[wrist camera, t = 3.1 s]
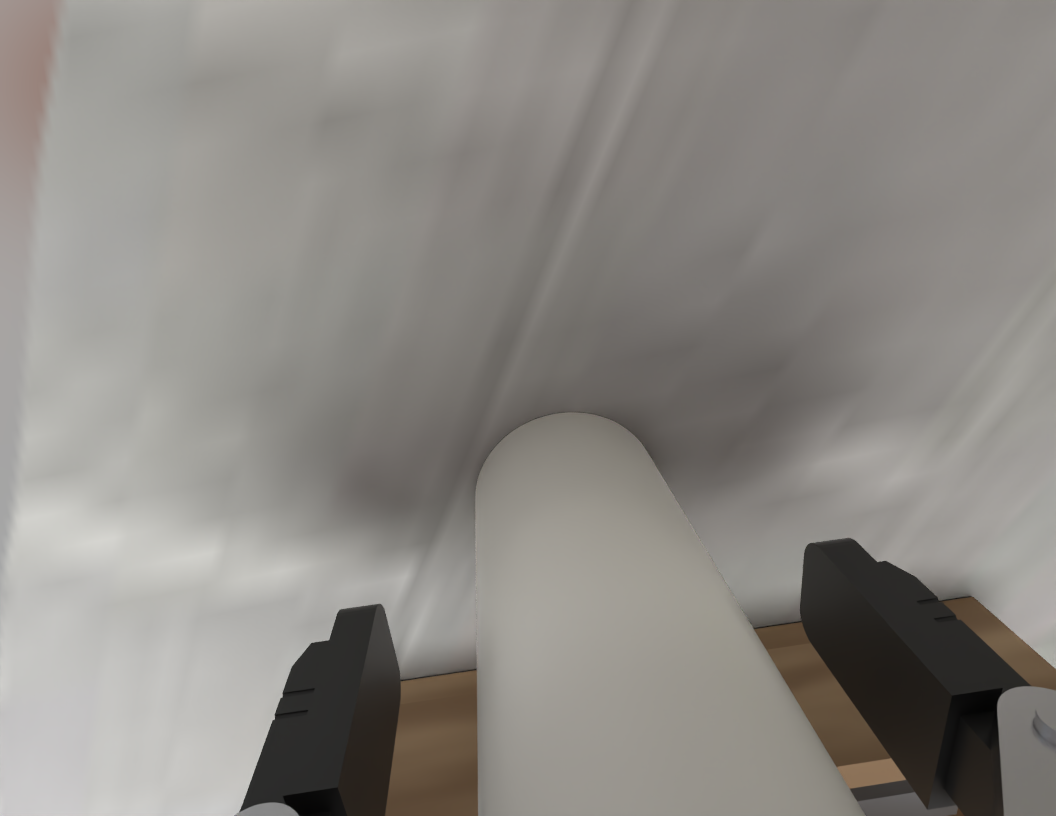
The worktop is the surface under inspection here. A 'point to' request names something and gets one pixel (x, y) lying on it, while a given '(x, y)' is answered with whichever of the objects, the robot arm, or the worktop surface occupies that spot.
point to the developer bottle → (621, 648)
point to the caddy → (872, 776)
